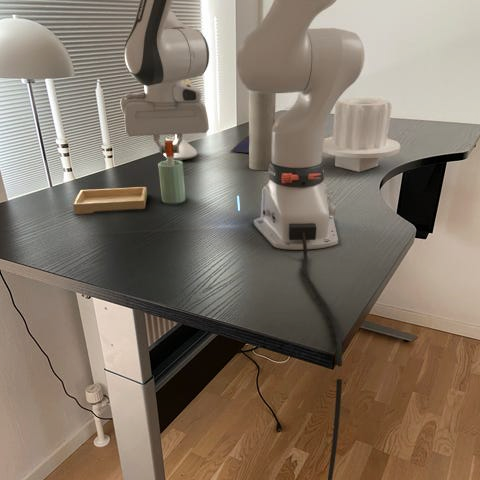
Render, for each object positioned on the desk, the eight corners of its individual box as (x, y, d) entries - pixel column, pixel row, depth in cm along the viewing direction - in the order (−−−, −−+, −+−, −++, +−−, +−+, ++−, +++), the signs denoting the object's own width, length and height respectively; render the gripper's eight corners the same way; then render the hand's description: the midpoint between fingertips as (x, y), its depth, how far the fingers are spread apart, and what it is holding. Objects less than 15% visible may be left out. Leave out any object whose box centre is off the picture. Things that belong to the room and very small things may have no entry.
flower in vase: (174, 164, 157) (167, 80, 144) (158, 158, 165) (149, 77, 151) (207, 158, 163) (203, 77, 150) (190, 152, 171) (185, 74, 158)
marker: (177, 199, 125) (172, 141, 117) (170, 200, 125) (164, 142, 117) (177, 197, 127) (172, 140, 119) (170, 197, 127) (164, 140, 119)
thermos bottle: (275, 164, 156) (277, 67, 140) (272, 171, 149) (274, 70, 134) (251, 163, 157) (251, 67, 142) (247, 170, 150) (246, 70, 135)
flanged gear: (412, 166, 151) (424, 101, 141) (364, 182, 138) (373, 111, 127) (349, 152, 167) (355, 93, 157) (300, 165, 153) (304, 102, 143)
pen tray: (145, 210, 121) (143, 200, 120) (75, 214, 119) (72, 204, 118) (147, 196, 130) (146, 186, 129) (82, 199, 129) (80, 190, 127)
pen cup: (186, 204, 124) (182, 165, 119) (162, 206, 123) (157, 167, 118) (185, 197, 129) (182, 159, 124) (162, 198, 129) (158, 160, 123)
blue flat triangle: (321, 136, 183) (321, 126, 180) (294, 165, 162) (294, 154, 160) (263, 131, 192) (263, 122, 189) (230, 158, 171) (229, 148, 169)
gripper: (117, 95, 109) (126, 157, 116) (207, 92, 110) (210, 154, 118) (120, 92, 114) (128, 151, 121) (206, 89, 116) (209, 148, 123)
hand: (169, 152), depth 119 cm, fingers closed on marker, 2 cm apart
